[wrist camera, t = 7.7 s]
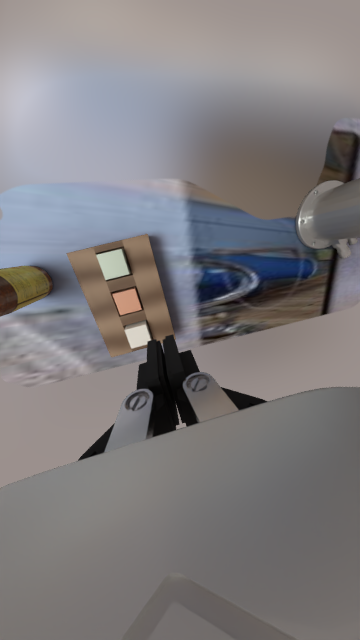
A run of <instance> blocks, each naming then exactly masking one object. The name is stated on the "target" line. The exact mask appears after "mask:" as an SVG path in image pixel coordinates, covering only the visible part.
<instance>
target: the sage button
mask: <svg viewBox="0 0 360 640" xmlns="http://www.w3.org/2000/svg"><path fill="white" fill-rule="evenodd" d="M96 256H97V259H98V261H99V264H100V267H101V269H102V272H103V275H104V277H105V280H108V279H112V278H116V277H120V276H124V275H128V274H130V273H131V271H130V268H129V265H128V262H127V258H126V255H125V252H124V249H119V250H115V251H111V252H106V253H102V254H98V255H96Z"/></svg>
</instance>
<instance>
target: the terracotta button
mask: <svg viewBox="0 0 360 640" xmlns="http://www.w3.org/2000/svg"><path fill="white" fill-rule="evenodd" d="M112 295H113V297H114V300H115V303H116V305H117V308H118V311H119V313H120V315H123V314H127V313H131V312H135V311H138V310H142V303H141V300H140V297H139V294H138V291H137V288H136V286H134V287H130V288H126V289H123V290H119V291H115V292H114V293H113V294H112Z"/></svg>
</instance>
